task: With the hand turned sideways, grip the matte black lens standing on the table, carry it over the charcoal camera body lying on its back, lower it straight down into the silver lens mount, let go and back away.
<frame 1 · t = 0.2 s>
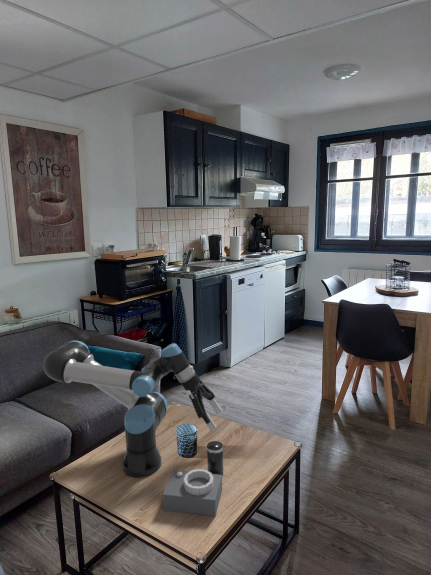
hand: (216, 420, 163), 15 cm above the table, tool tilted 35°, fingers open, 13 cm apart
lens: (215, 473, 152), on the table
camera body: (193, 499, 138), on the table
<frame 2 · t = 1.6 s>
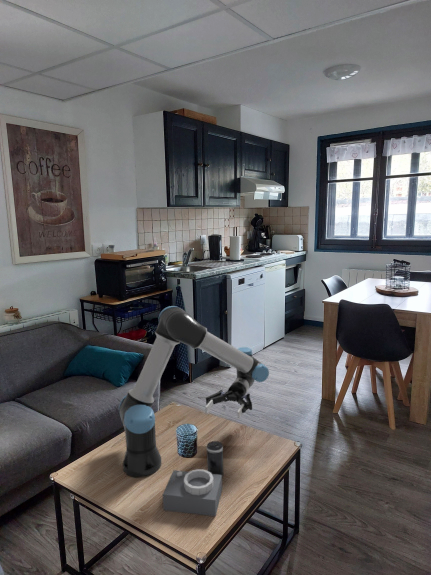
hand: (221, 412, 157), 21 cm above the table, tool horizontal, fingers open, 13 cm apart
nothing on the table moved.
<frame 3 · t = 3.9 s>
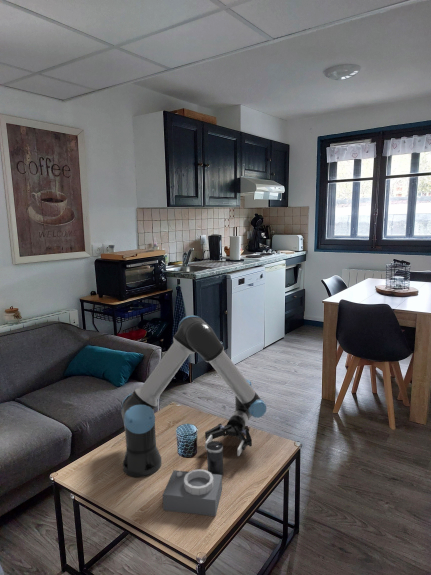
hand: (221, 449, 156), 7 cm above the table, tool horizontal, fingers open, 13 cm apart
nothing on the table moved.
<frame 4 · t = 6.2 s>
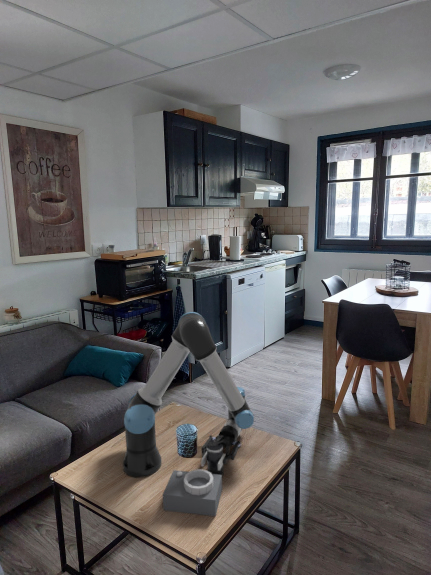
hand: (210, 465, 146), 7 cm above the table, tool horizontal, fingers closed on lens, 6 cm apart
lens: (215, 473, 152), on the table, touching gripper
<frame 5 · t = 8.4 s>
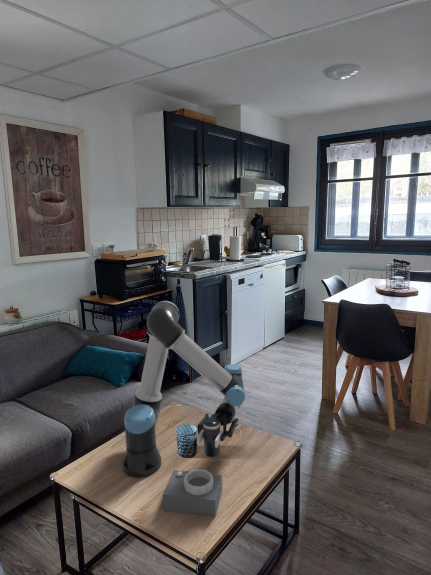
hand: (207, 442, 138), 20 cm above the table, tool horizontal, fingers closed on lens, 6 cm apart
lens: (212, 452, 144), point 13 cm above the table, touching gripper
when the fingers open (14 cm above the table, at t = 10.8 s): lens stays where it is, resting on camera body.
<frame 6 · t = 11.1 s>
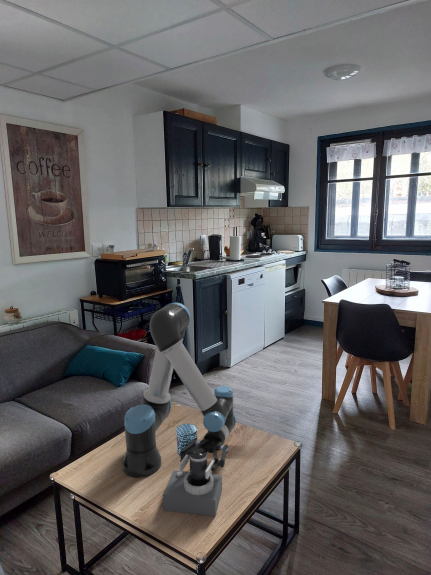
hand: (192, 472, 131), 14 cm above the table, tool horizontal, fingers open, 9 cm apart
lens: (198, 484, 137), point 6 cm above the table, touching camera body
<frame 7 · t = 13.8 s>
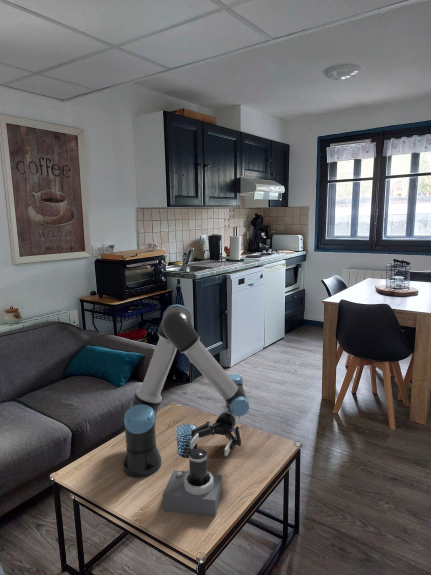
hand: (207, 449, 144), 14 cm above the table, tool horizontal, fingers open, 13 cm apart
nothing on the table moved.
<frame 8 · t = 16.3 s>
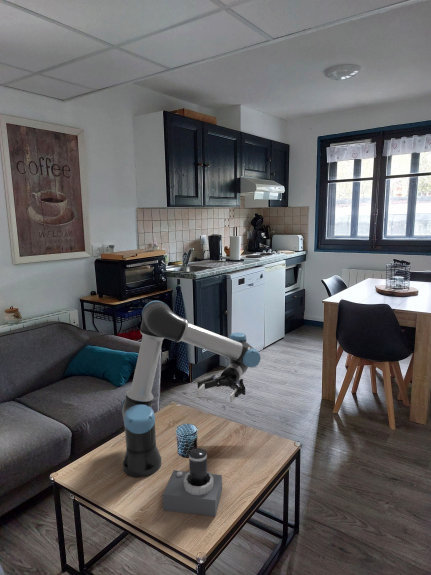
hand: (214, 396, 150), 30 cm above the table, tool horizontal, fingers open, 13 cm apart
nothing on the table moved.
at the end: lens 0.0 cm from the target spot on the camera body, point 6.0 cm above the camera body's base; lens tilted 1°; the gripper is holding nothing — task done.
